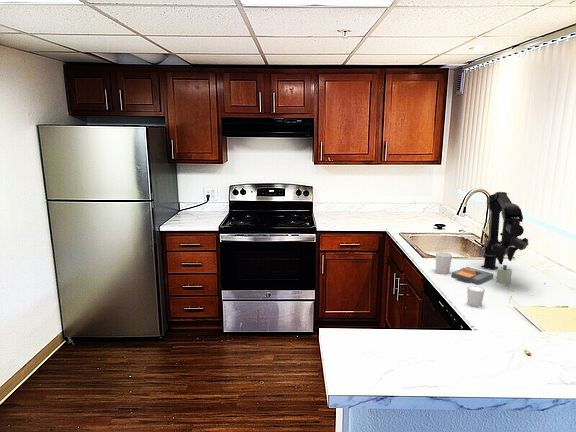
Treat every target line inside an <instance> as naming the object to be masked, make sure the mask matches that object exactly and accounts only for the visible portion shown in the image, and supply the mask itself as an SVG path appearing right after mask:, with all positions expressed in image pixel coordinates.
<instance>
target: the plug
mask: <svg viewBox="0 0 576 432" xmlns="http://www.w3.org/2000/svg"><path fill="white" fill-rule="evenodd" d="M512 273H513V269H510V268H508V264H502V267H498V268H496V276H495V277H496V278H495V283H497V284H499V285H500V284H501V285H502V286H503V285H505V286H508V285H510V284H511V282H512Z"/></svg>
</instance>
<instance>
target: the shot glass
mask: <svg viewBox="0 0 576 432" xmlns="http://www.w3.org/2000/svg"><path fill="white" fill-rule="evenodd" d="M466 289H467V290H466V291H467V292H466V293H467V297H466V298H467V303H466V304H468V305H469V306H472V307H477V308H478V307H482V304H483V300H484V296H485V289H484V288H483V287H481V286H478V285H469V286H467V288H466Z"/></svg>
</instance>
